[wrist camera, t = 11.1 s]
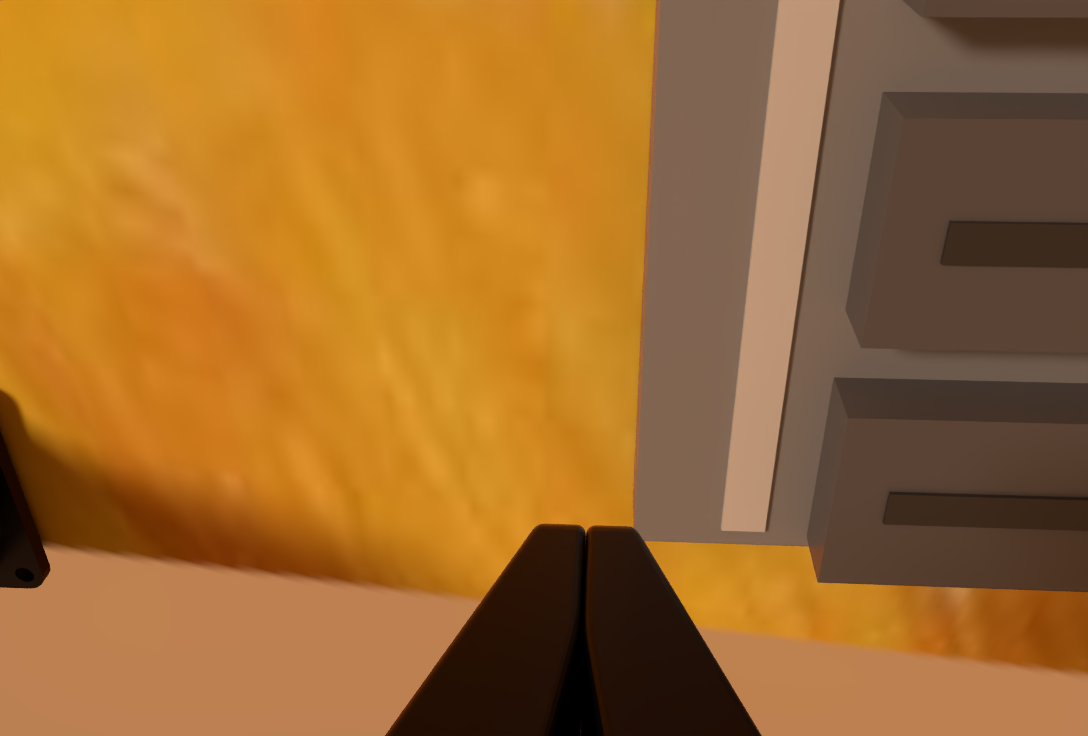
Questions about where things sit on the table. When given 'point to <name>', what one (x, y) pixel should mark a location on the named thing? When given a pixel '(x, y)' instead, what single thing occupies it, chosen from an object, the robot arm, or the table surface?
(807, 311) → the panel
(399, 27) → the table surface
